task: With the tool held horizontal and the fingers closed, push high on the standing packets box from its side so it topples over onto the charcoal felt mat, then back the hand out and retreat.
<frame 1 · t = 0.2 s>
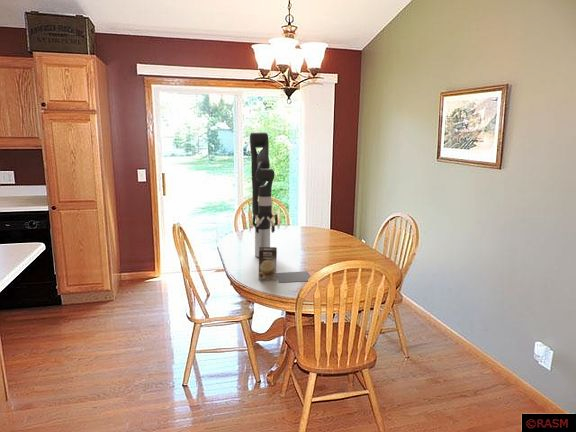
hand: (265, 232, 233), 18 cm above the table, tool pointing down, fingers open, 8 cm apart
coffee box: (267, 279, 211), on the table
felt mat: (293, 277, 214), on the table
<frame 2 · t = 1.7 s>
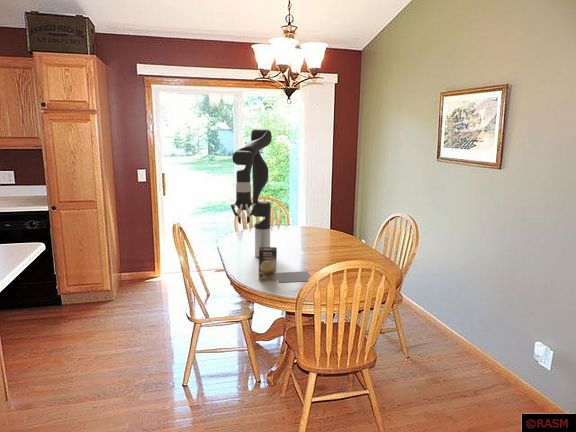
hand: (243, 223, 213), 27 cm above the table, tool pointing down, fingers open, 3 cm apart
nothing on the table moved.
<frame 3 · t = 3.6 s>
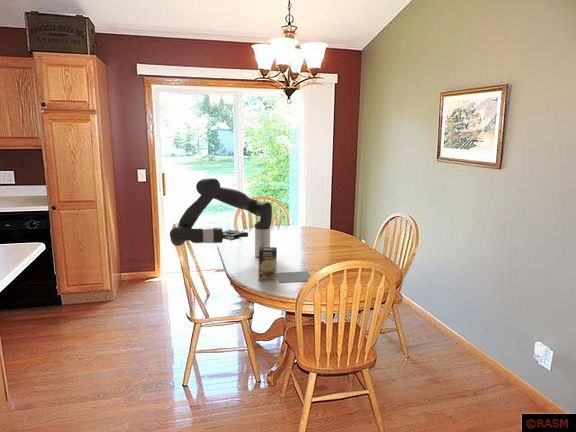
hand: (247, 234, 204), 24 cm above the table, tool horizontal, fingers closed
nothing on the table moved.
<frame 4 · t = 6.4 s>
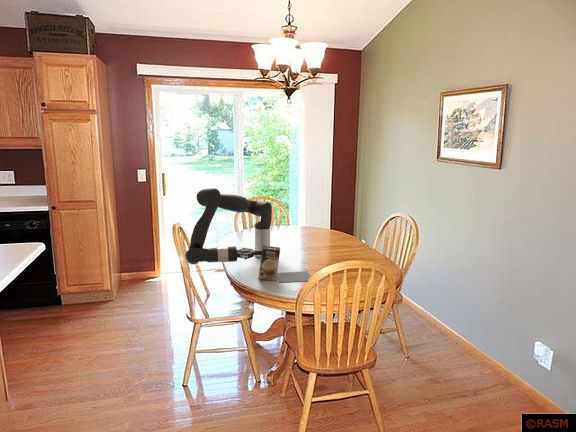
hand: (261, 252, 208), 14 cm above the table, tool horizontal, fingers closed
coffee box: (267, 278, 211), on the table, touching gripper
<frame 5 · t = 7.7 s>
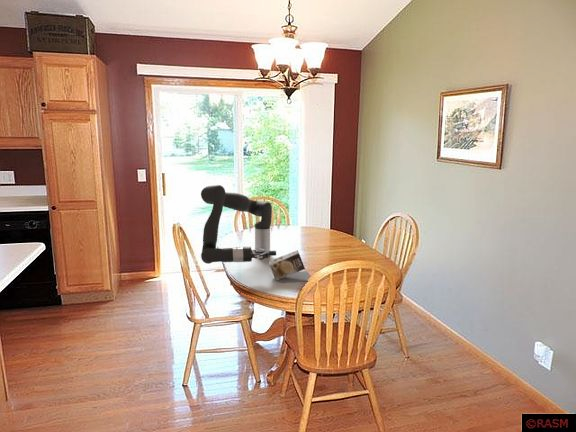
hand: (275, 252, 209), 14 cm above the table, tool horizontal, fingers closed
coffee box: (271, 271, 210), point 4 cm above the table
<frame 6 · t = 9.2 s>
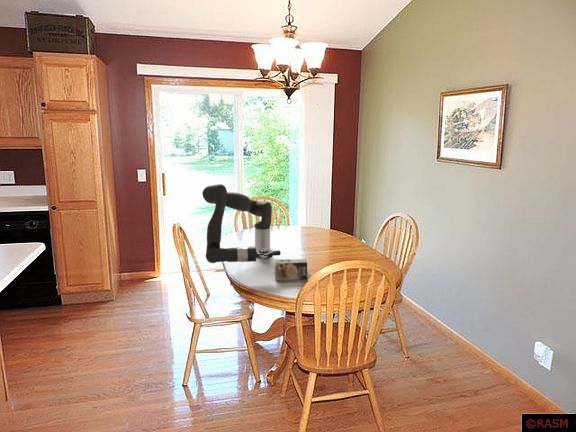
hand: (280, 252, 210), 14 cm above the table, tool horizontal, fingers closed
coffee box: (275, 269, 210), point 5 cm above the table, touching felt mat
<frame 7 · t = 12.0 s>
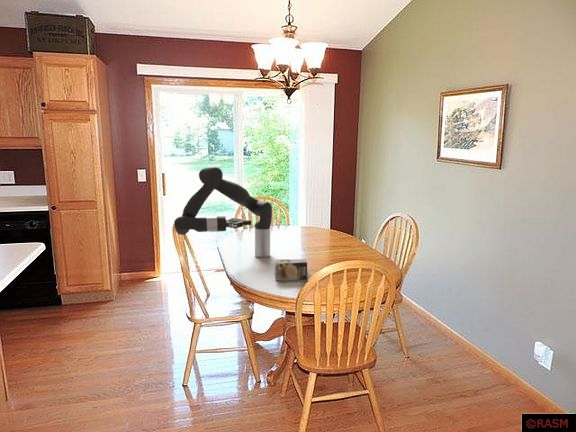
hand: (250, 222, 207), 29 cm above the table, tool horizontal, fingers closed
nothing on the table moved.
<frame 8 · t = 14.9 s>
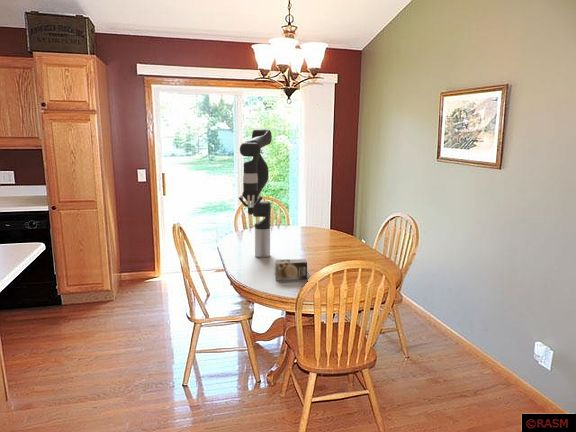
hand: (250, 214, 217), 31 cm above the table, tool pointing down, fingers closed
nothing on the table moved.
at the end: coffee box tilted 89°; coffee box inside the target area (7.2 cm from its centre), point 4.7 cm above the table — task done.
